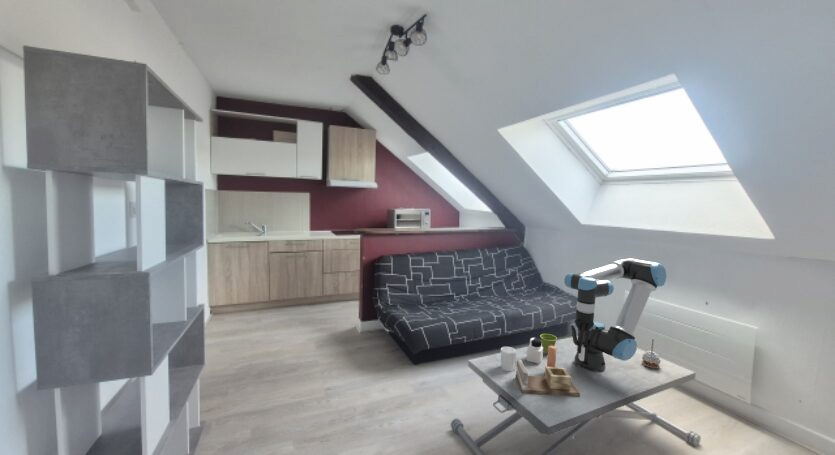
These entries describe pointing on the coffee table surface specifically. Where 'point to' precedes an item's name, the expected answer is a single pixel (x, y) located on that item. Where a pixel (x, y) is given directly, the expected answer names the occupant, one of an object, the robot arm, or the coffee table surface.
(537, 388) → the board
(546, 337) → the plant pot
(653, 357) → the cupcake with stick
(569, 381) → the open wooden box
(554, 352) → the dowel
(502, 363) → the white cup
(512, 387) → the coffee table surface
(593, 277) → the robot arm
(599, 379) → the coffee table surface
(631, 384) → the coffee table surface
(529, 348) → the medicine bottle
